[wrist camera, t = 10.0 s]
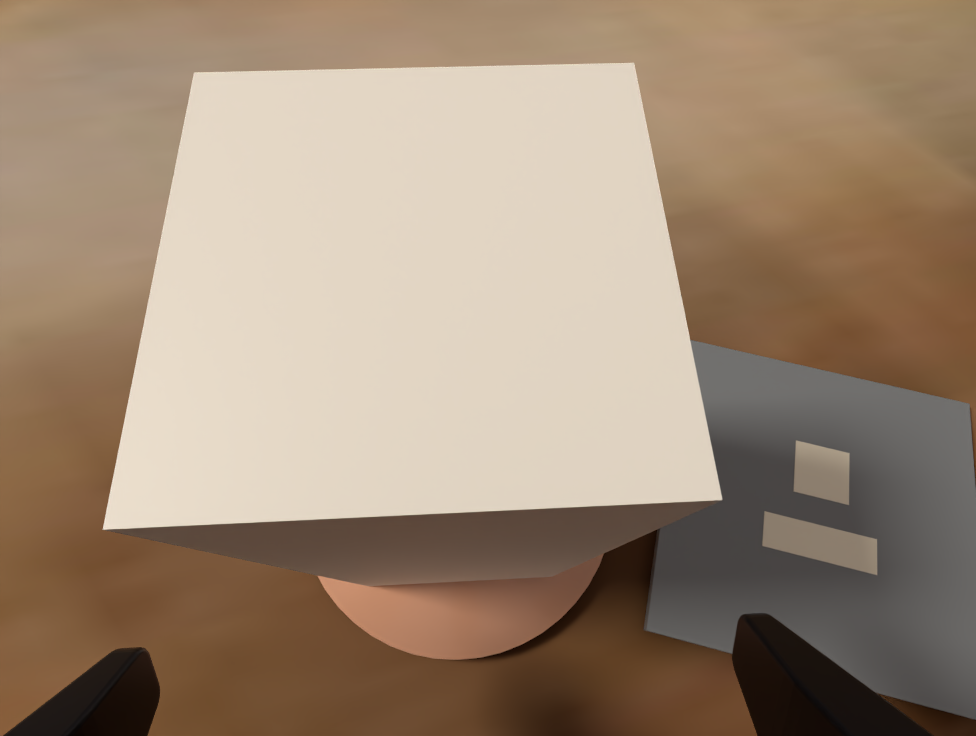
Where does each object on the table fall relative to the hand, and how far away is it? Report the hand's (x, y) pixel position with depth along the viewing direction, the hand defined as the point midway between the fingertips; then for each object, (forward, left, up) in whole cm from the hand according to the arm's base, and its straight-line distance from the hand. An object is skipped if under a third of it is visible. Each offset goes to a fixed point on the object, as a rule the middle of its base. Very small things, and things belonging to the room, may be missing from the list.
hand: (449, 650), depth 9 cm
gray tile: (-5, -10, -8) cm, 13 cm away
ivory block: (+3, -3, -7) cm, 8 cm away
